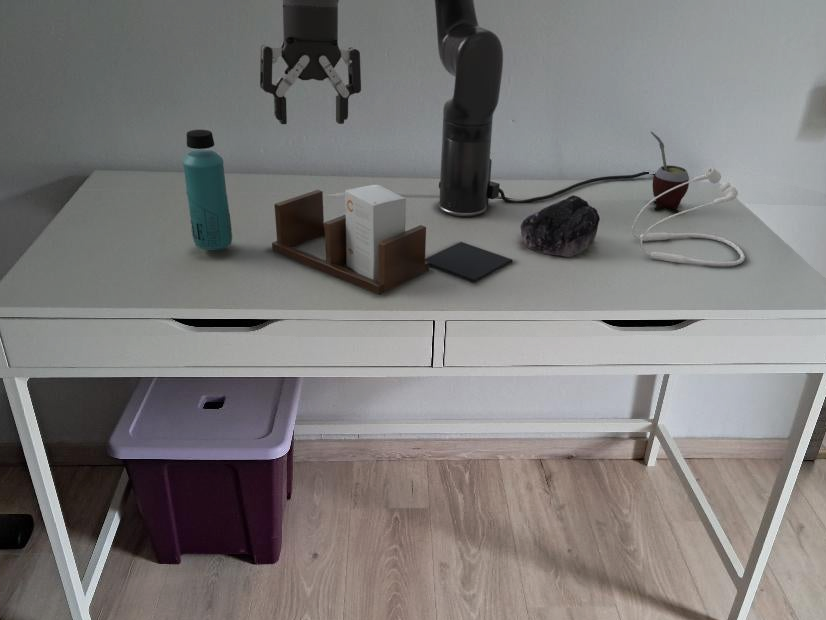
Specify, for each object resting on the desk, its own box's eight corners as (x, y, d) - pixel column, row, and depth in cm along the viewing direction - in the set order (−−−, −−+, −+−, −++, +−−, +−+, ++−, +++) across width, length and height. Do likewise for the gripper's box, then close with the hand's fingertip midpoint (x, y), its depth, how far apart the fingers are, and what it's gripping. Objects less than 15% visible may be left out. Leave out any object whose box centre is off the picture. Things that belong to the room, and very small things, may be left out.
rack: (324, 230, 143) (322, 187, 139) (429, 270, 131) (431, 224, 127) (272, 250, 135) (268, 205, 131) (379, 295, 123) (379, 247, 119)
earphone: (620, 214, 147) (707, 155, 141) (663, 278, 154) (747, 224, 149) (638, 244, 135) (733, 180, 130) (684, 311, 143) (775, 254, 137)
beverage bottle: (241, 247, 136) (229, 128, 125) (219, 262, 130) (205, 139, 119) (208, 240, 137) (193, 123, 126) (185, 255, 132) (168, 133, 121)
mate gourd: (690, 210, 162) (706, 136, 154) (663, 216, 158) (678, 141, 150) (663, 199, 167) (677, 126, 159) (636, 205, 163) (649, 131, 155)
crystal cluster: (507, 236, 147) (510, 186, 141) (572, 223, 151) (577, 174, 145) (540, 271, 137) (545, 219, 131) (608, 256, 141) (616, 205, 135)
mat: (460, 244, 141) (461, 241, 141) (512, 262, 136) (512, 259, 135) (421, 263, 134) (421, 260, 133) (474, 283, 128) (474, 279, 128)
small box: (405, 274, 130) (407, 197, 123) (373, 284, 126) (373, 205, 119) (376, 257, 135) (377, 182, 128) (345, 266, 131) (343, 189, 124)
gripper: (352, 2, 115) (351, 118, 123) (253, -4, 110) (258, 118, 117) (368, 6, 109) (365, 128, 117) (263, 1, 104) (267, 128, 111)
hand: (311, 123), depth 117 cm, fingers open, 8 cm apart
